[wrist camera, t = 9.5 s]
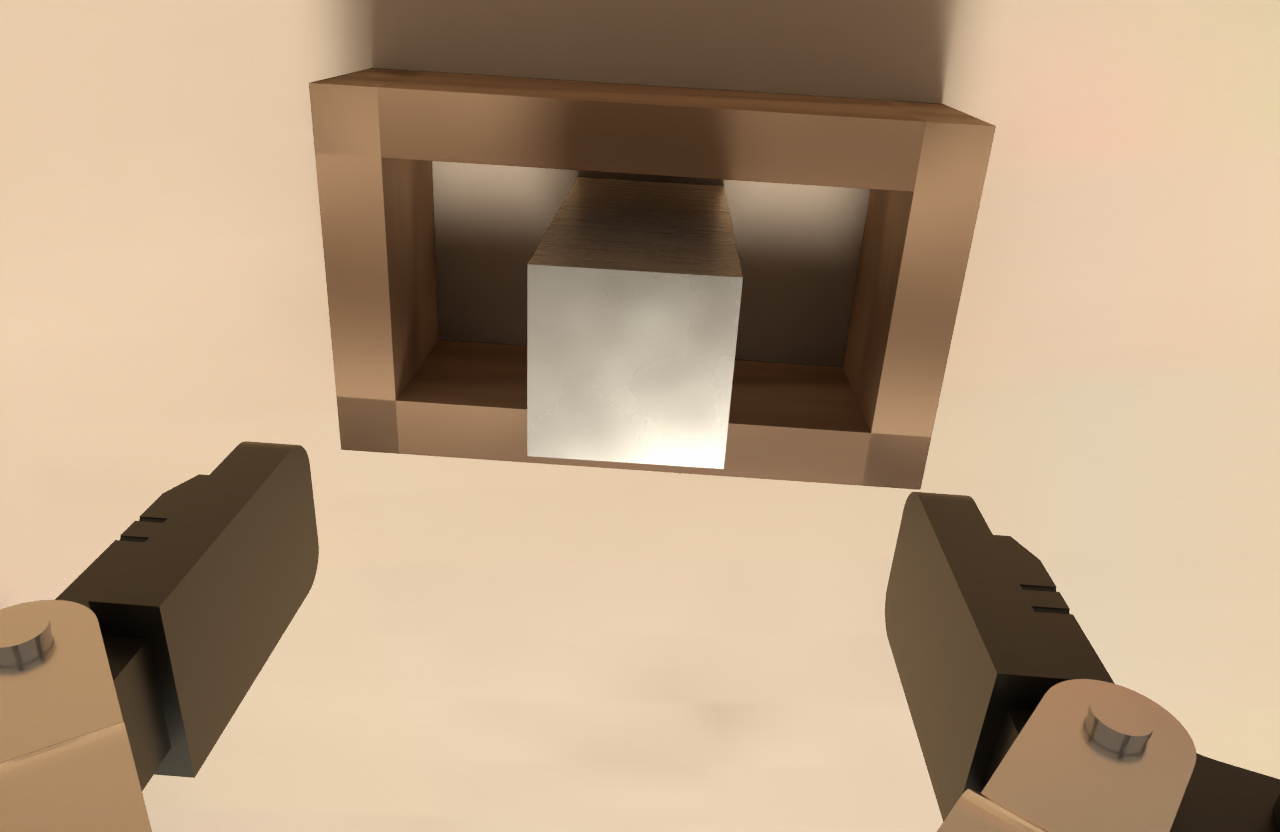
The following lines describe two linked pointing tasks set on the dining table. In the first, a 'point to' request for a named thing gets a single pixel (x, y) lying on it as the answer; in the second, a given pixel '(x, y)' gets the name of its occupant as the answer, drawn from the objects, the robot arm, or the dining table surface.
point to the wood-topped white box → (633, 325)
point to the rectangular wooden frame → (654, 145)
